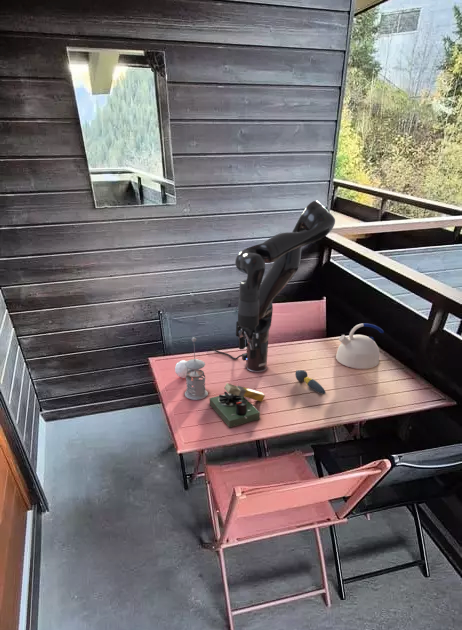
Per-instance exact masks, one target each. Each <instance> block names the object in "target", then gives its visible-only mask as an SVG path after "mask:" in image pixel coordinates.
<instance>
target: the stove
mask: <svg viewBox="0 0 462 630" xmlns="http://www.w3.org/2000/svg"><path fill="white" fill-rule="evenodd" d="M227 393H228V392H227ZM228 394H230V393H228ZM240 397H241V396H240ZM241 400H245V401H246V402H247V413H246V414H245V415H242V416H241V415H237V414H236V406H235V407H226V406H223V405H221V404H220V403H219V395H216V396H213V397H209V401H208V402H209V406H210V407H211V408H212V409H213V410H214V411H215V413H216V414H217V415H218V417H220V418H221V420H222V421H223V423H225V424H226V426H227V427H228V428H233V427H237V426H240V425H244V424H247V423H250V422H254V421H258V420H260V418H261V412H260V411H259V410H258V409H257V408H256V407H255V406H254V405H253V404H252V403H251V402H250V401H249V400H248V399H247V397H241Z"/></svg>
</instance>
